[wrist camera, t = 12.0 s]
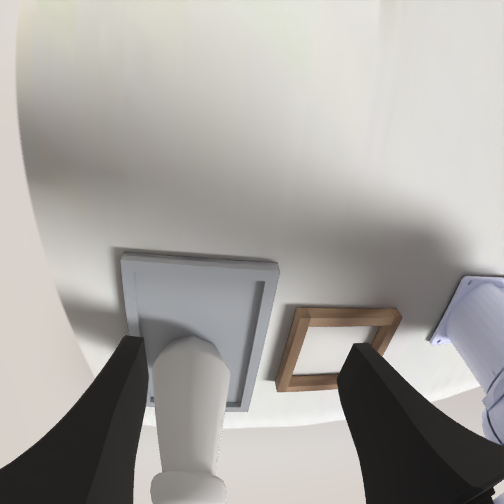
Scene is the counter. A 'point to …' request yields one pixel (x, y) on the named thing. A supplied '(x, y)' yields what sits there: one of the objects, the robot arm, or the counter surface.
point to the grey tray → (202, 311)
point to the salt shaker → (189, 421)
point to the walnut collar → (330, 318)
